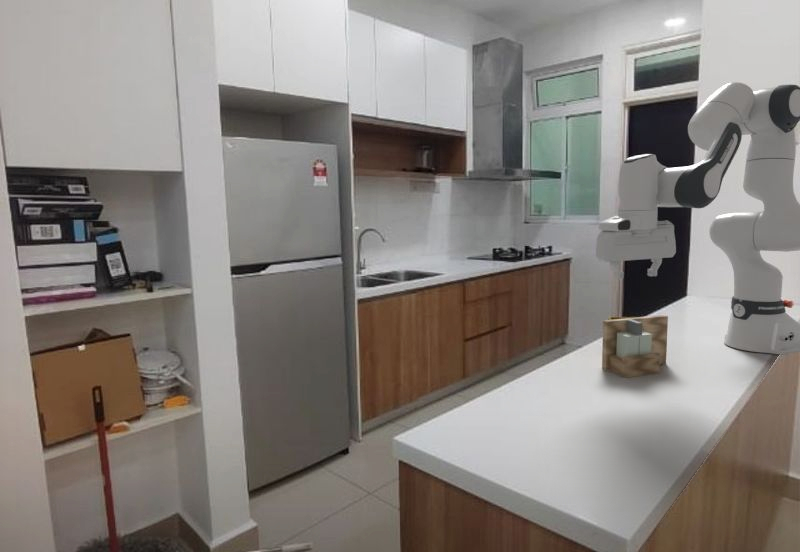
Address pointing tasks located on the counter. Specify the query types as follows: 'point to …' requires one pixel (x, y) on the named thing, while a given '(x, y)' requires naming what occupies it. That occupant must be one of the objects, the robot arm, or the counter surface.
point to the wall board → (635, 363)
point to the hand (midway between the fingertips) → (635, 277)
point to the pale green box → (633, 340)
